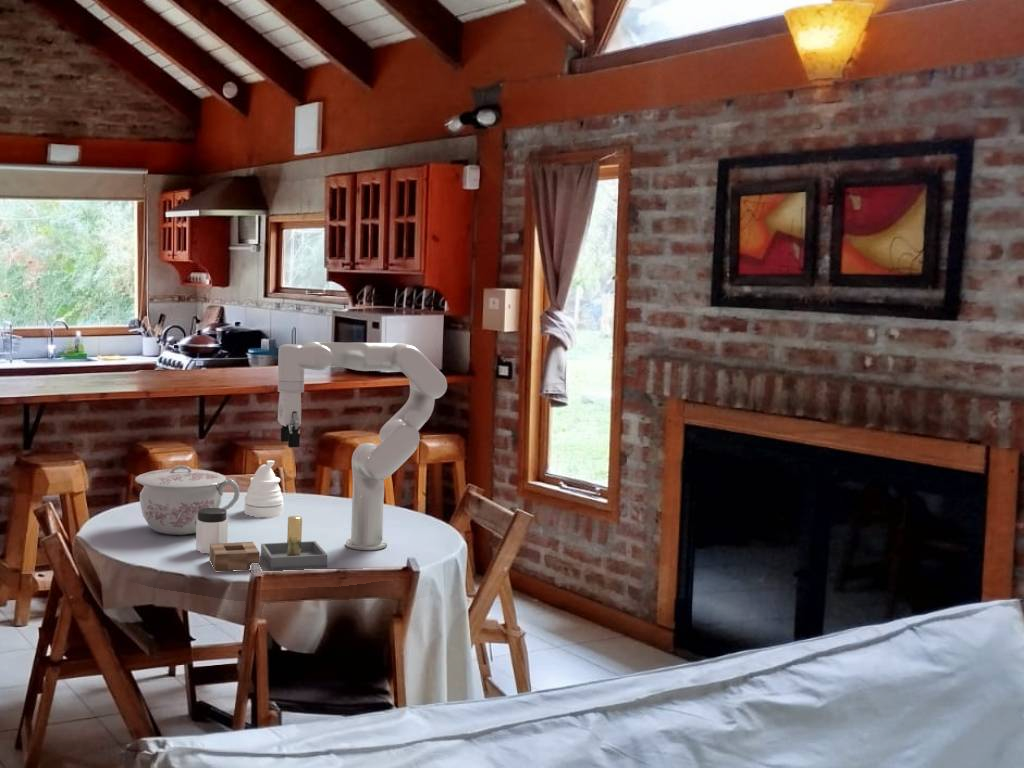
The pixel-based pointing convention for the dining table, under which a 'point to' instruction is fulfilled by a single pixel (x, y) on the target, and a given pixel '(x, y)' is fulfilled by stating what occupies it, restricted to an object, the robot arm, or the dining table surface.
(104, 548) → the dining table surface
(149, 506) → the chamber pot
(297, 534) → the brass pin
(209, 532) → the jar
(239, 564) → the socket block
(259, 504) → the honey pot
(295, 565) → the tray
